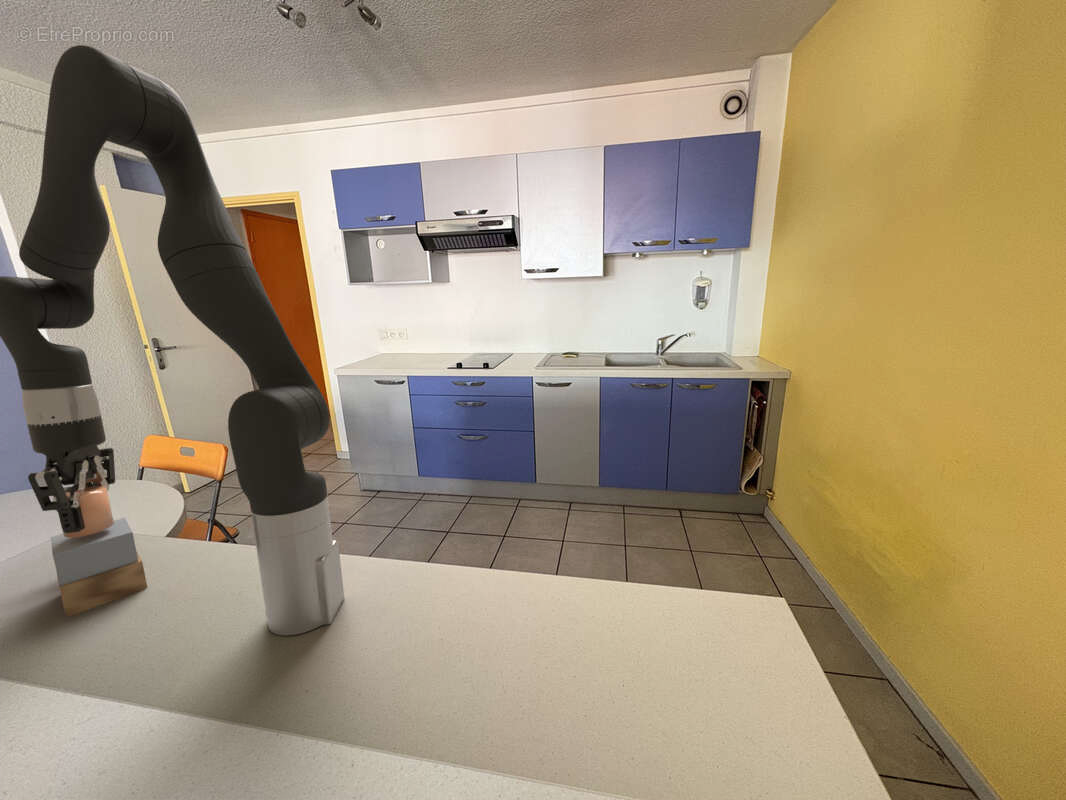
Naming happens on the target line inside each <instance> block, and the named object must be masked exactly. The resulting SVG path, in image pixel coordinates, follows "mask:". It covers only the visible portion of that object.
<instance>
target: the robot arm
mask: <svg viewBox="0 0 1066 800" xmlns="http://www.w3.org/2000/svg"><path fill="white" fill-rule="evenodd" d="M52 74H53V75H52V79H51V85H50V89H49V90H50V91H49V98H48V99H49V100H48V104H47V105H48V107H47V115H46V116H47V117H46V124H45V132H44V133H45V134H44V141H43V152H42V153H43V155H42V168H41V178H40V185H39V188H38V189H39V190H38V194H37V198H36V203H35V206H34V208H33V210H32V211H33V212H32V215H31V217H30V219H29V222H28V225H27V227H26V229H25V233H24V235H23V238H22V240H21V242H20V246H19V251H18V255H19V259H20V261H21V262H22V264H23V265H24V266H25V267H27V269H29V270H30V271H32V272H35V273H36V274H38V275H40V276H43V277H45V278H47V279H45V278H31V277H21V276H7V275H6V276H5V275H2V276H0V338H1V340H2V342H3V343H4V345H5V347H6V349H7V350H8V352H9V353H10V355H11V357H12V359H13V362H14V363H15V367H16V370H17V376H18V379H19V384H20V388H21V389H22V390H21V394H22V407H23V412H24V416H25V420H26V425H27V428H28V434H29V439H30V441H31V443H30V444H31V446H32V450H33V452H34V453H37V454H42V455H44V456H45V458H46V459H45V465H44V466H45V467H44V469H43V470H42V471H39V472H31V473H30V474H28V477H27V479H28V481H29V484H30V485H31V488H32V491H33V494H35V497H36V499H37V501H38V505H39V506H40V509H41V510H42V511H43V512H49V511H56V512H57V513H58V514H57V515H58V517H59V521H60V526H61V530H62V529H63V531H62V533H63V532H64V533H73V532H79V531H81V530H83V529H84V528H85V525H84V521H83V516H82V512H81V507H80V506H79V503H80V493H81V492H82V491H83V490H84V489H85V488H87V487H93V486H105V487H106V488H107V492H108V491H109V490H110V485H113V484H115V483H116V470H115V469H116V468H115V454H114V448H113V447H109V448H108V447H106V448H103V447H102V448H99V447H98V446H99V445H102V444H103V443H105V442H106V440H107V438H106V434H105V433H106V432H105V427H104V423H103V419H102V414H101V409H100V404H99V399H98V396H97V393H96V390H95V389H94V386H93V380H92V376H91V372H90V371H91V370H90V367H89V365H90V364H89V362H88V358H87V357H88V356H87V355H86V353H85V351H84V350H83V349H82V348H81V347H78V346H73V345H68V344H67V345H66V344H59V343H53V342H51V341H49V340H48V339H47V338H46V337H45V336H44V335H43V334H42V333H41V332H40V330H49V329H59V330H62V329H63V330H65V329H68V330H69V329H77V328H80V327H82V326H84V325H85V324H87V323H88V322H89V321H90V320H91V319H92V318H93V316H94V314H95V296H94V294H95V291H94V289H95V270H96V269H97V266H98V264H99V262H100V259H101V257H102V255H103V253H104V251H105V249H106V246H107V243H108V240H109V238H110V230H111V229H110V227H111V226H110V221H109V220H110V219H109V216H108V211H107V209H106V206H105V204H104V201H103V198H102V196H101V192H100V190H99V186H98V184H97V179H96V173H95V171H96V170H95V168H96V162H97V159H98V157H99V154H100V152H101V150H102V148H103V147H104V145H105V144H106V143H107V142H109V143H112V144H115V145H119V146H121V147H124V148H127V149H130V150H134V151H137V152H139V153H141V154H143V155H144V156H145V157H146V158H147V160H148V161H149V163H150V164H151V166H152V168H153V170H154V171H155V173H156V176H157V178H158V180H159V183H160V185H161V187H162V189H163V193H164V197H165V203H164V204H165V205H164V208H163V209H164V210H163V214H162V217H161V221H160V225H159V229H158V235H157V251H158V254H159V257H160V260H161V262H162V265H163V267H164V269H165V271H166V273H167V275H168V276H169V278H170V280H171V282H172V284H173V286H174V288H175V291H176V293H177V294H178V296H179V298H180V299H181V301H182V303H183V304H184V305H185V306H186V308H187V309H188V311H190V312H191V314H192V315H194V317H196V319H197V320H198V321H199V322H200V323H202V324H203V325H204V326H205V327H206V328H207V329H208V330H209V331H211V332H212V333H214V335H215V336H216V337H218V338H219V339H220V340H221V341H222V342H223V343H225V344H226V345H227V346H228V347H230V349H232V351H233V352H235V354H237V356H238V357H239V358H240V359H241V361H243V363H244V364H245V365H246V367H247V369H248V371H249V372H250V374H251V376H252V377H253V379H254V382H255V384H256V385H257V387H258V389H254V390H249V391H248V392H245V393H243V394H241V395H240V396H238V397H237V398H236V399H235V400H234V402H233V403H232V405H231V407H230V409H229V413H228V418H227V430H228V438H229V443H230V448H231V452H232V457H233V461H234V462H233V463H234V464H235V470H236V474H237V480H238V483H239V487H240V488H241V490H242V492H243V494H244V495H245V497H246V498H247V500H248V502H249V506H250V507H249V509H250V513H251V514H250V515H251V521H252V522H251V523H252V527H253V533H254V535H253V536H254V541H255V550H256V555H257V560H258V568H259V574H260V582H261V589H262V595H263V602H264V608H265V616H266V619H267V627H268V630H269V631H270V632H271V633H274V634H275V635H277V636H278V635H279V636H297V635H299V634H300V635H301V634H304V633H307V632H310V631H312V630H314V629H316V628H318V627H321V626H325V625H330V624H332V623H333V622H334V620H335V619H334V618H335V617H336V615H337V613H338V611H339V609H340V607H341V604H342V603H343V601H344V599H345V590H344V589H345V588H344V583H343V573H342V564H341V556H340V549H339V548H340V547H339V541H338V540H336V539H333V534H332V525H331V516H330V508H329V507H330V506H329V498H328V488H327V482H326V478H325V477H324V475H322V474H321V473H318V472H314V471H306V468H305V465H304V459H303V453H302V449H305V448H306V447H310V446H311V445H313V444H316V443H318V442H319V441H320V440H322V439H324V437H325V435H326V434H327V432H328V431H329V430H328V429H329V426H330V411H329V406H328V404H327V401H326V400H325V397H324V395H323V394H322V392H321V390H320V388H319V387H318V385H317V383H316V382H315V380H314V378H313V377H312V375H311V374H310V372H309V371H308V369H307V366H305V364H304V362H303V360H302V359H301V357H300V356H299V354H298V353H297V351H296V349H295V348H294V346H293V344H292V342H291V340H290V338H289V336H288V334H287V332H286V330H285V329H284V328H285V327H283V324H282V322H281V320H280V317H279V316H278V314H277V312H276V310H275V308H274V306H273V304H272V302H271V300H270V298H269V296H268V294H267V292H266V290H265V287H264V285H263V282H262V280H261V278H260V275H259V273H258V272H257V270H256V267H255V265H254V263H253V261H252V258H251V257H250V254H249V253H248V251H247V249H246V247H245V245H244V243H243V241H242V239H241V238H240V236H239V234H238V231H237V229H236V228H235V225H234V223H233V221H232V219H231V217H230V215H229V212H228V210H227V208H226V205H225V203H224V200H223V198H222V196H221V194H220V192H219V189H218V188H217V185H216V183H215V179H214V178H213V176H212V175H213V174H212V173H211V170H210V168H209V164H208V162H207V159H206V155H205V153H204V150H203V148H202V145H201V142H200V140H199V136H198V133H197V130H196V128H195V125H194V123H193V120H192V117H191V115H190V113H189V111H188V109H187V107H186V105H185V103H184V102H183V100H182V98H181V97H180V96H179V94H178V93H177V92H176V91H175V90H174V89H173V88H172V87H171V86H169V85H168V84H167V83H166V82H164V81H163V80H161V79H160V78H157V77H156V76H154V75H152V74H150V73H147V72H145V71H143V70H142V69H140V68H137V67H135V66H134V65H131V64H129V63H127V62H126V61H123V60H121V59H119V58H118V57H115V56H113V55H111V54H109V53H107V52H105V51H103V50H102V49H98V48H95V47H93V46H91V45H90V46H89V45H85V44H84V45H83V44H79V45H75V46H70V47H69V48H67V50H65V51H64V52H63V53H62V55H61V56H60V57H59V60H58V62H57V63H56V66H55V69H54V72H53V73H52ZM48 278H49V279H48ZM71 485H72V486H71ZM64 486H65V487H64ZM66 493H70V500H68V498H67V495H66ZM51 497H52V500H51Z"/></svg>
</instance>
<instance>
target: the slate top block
mask: <svg viewBox="0 0 1066 800" xmlns="http://www.w3.org/2000/svg"><path fill="white" fill-rule="evenodd" d="M113 521H114V524H113V525H112V526H111V527H109V528H107V529H105V530H103V531H100V532H97V533H94V534H90V535H86V536H81V537H74V538H67V537H64V535H63V533H61V534H58V535H53V536H50V542H51V552H52V557H53V562H54V566H55V571H56V576H57V575H58V577H57V580H58V579H59V583H60V586H63V585H66V584H69V583H72V582H75V581H78V580H81V579H84V578H87V577H91V576H94V575H97V574H100V573H103V572H106V571H109V570H112V569H115V568H119V567H122V566H125V565H128V564H131V563H134V562H137V561H138V557H137V553H138V551H137V548H136V547H137V546H136V543H135V542H136V541H135V538H134V533H133V530H132V528H131V526H130V525H129V523H128V521H127V519H126V518H125V517H123V518H119V519H115V520H114V519H113ZM136 551H137V552H136ZM59 583H58V584H59Z"/></svg>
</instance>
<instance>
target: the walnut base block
mask: <svg viewBox="0 0 1066 800" xmlns="http://www.w3.org/2000/svg"><path fill="white" fill-rule="evenodd" d="M136 552H137V557H138V561H137V562H134V563H131V564H128V565H125V566H122V567H119V568H115V569H112V570H109V571H106V572H103V573H100V574H97V575H94V576H91V577H87V578H84V579H81V580H78V581H75V582H72V583H69V584H66V585H63V586H60V583H59V579H58V575H57V574H56V577H57V582H58V589H59V593H60V596H61V601H62V605H63V609H64V613H65V614H64V615H65V618H68V617H71V616H74V615H76V614H79V613H82V612H84V611H87V610H90V609H94V608H96V607H99V606H101V605H104V604H107V603H109V602H113V601H115V600H118V599H121V598H124V597H126V596H128V595H132V594H135V593H137V592H140V591H142V589H143V590H145V588H146V589H147V588H148V583H147V579H146V573H145V569H144V563H143V560H142V557H141V556H140V554H139V553H138V551H137V550H136ZM139 590H140V591H139ZM134 592H135V593H134Z"/></svg>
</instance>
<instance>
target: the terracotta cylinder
mask: <svg viewBox="0 0 1066 800" xmlns="http://www.w3.org/2000/svg"><path fill="white" fill-rule="evenodd" d="M66 495H67V498H68V500H70V493H66ZM79 506H80V507H81V512H82V516H83V521H84V525H85V528H84V529H83V530H81V531H79V532H73V533H64V532H63V529H62V528H61V530H62V534H63V535H64V537H67V538H74V537H81V536H86V535H90V534H94V533H97V532H100V531H103V530H105V529H107V528H109V527H111V526H112V525H113V524H114V517H113V513H112V512H113V511H112V508H111V507H112V506H111V502H110V497H109V494H108V491H107V488H106V487H105V486H93V487H87V488H85V489H84V490H83V491H82V492H81V493H80V503H79Z"/></svg>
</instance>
